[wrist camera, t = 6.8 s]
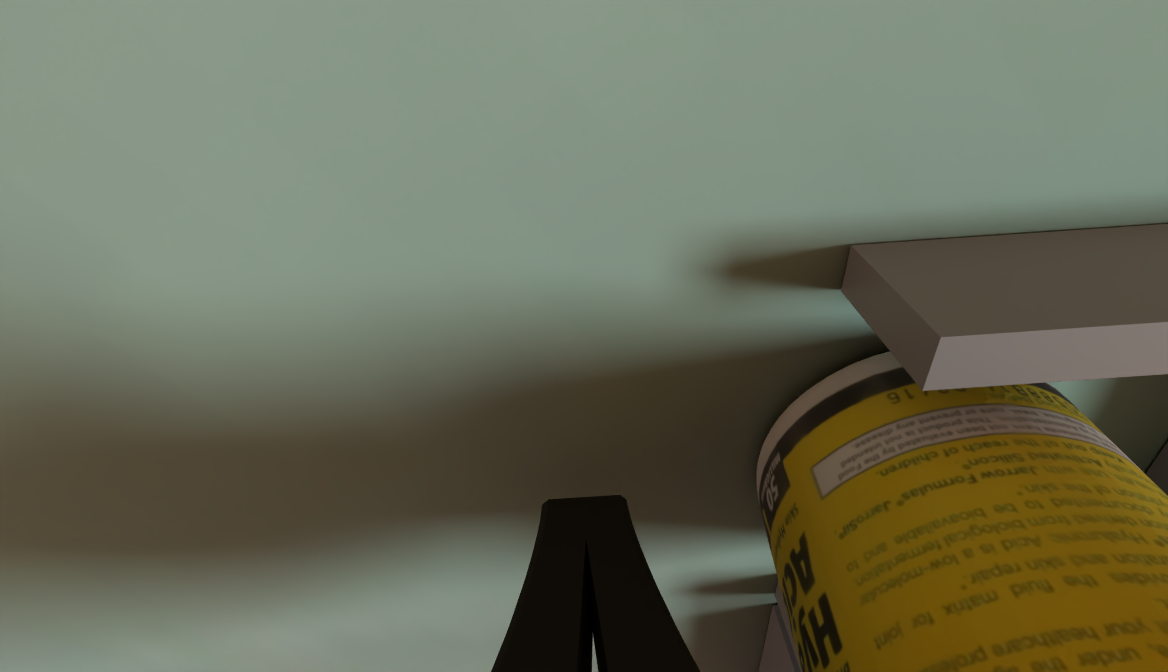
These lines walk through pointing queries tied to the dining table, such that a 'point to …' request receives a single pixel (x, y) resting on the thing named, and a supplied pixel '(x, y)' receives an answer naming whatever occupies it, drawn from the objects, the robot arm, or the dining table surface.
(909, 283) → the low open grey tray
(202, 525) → the dining table surface
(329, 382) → the dining table surface
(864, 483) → the supplement bottle
